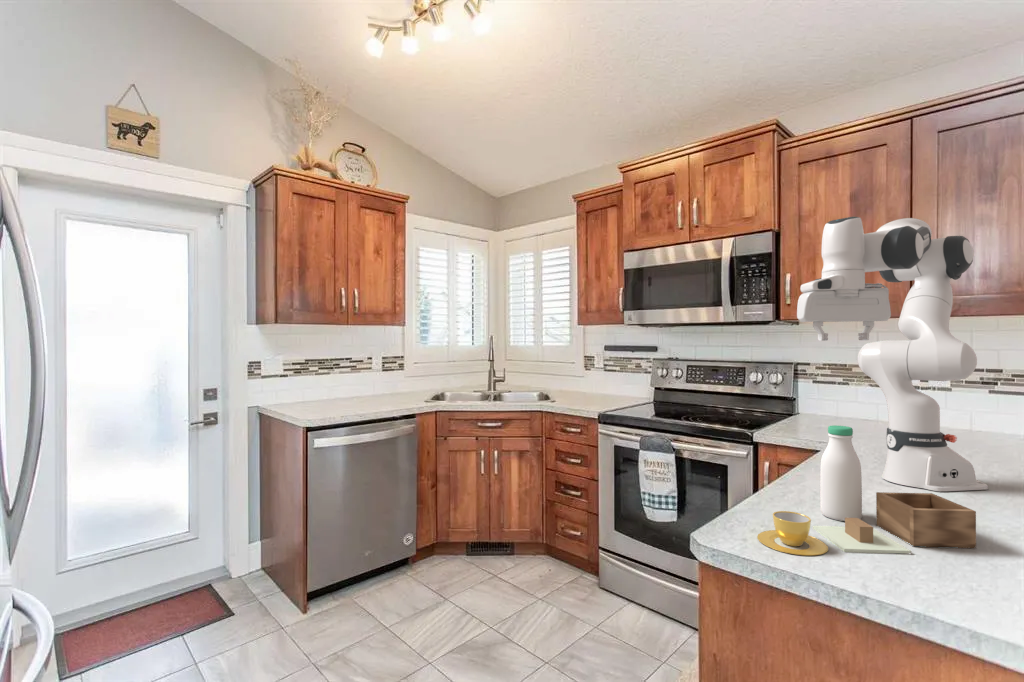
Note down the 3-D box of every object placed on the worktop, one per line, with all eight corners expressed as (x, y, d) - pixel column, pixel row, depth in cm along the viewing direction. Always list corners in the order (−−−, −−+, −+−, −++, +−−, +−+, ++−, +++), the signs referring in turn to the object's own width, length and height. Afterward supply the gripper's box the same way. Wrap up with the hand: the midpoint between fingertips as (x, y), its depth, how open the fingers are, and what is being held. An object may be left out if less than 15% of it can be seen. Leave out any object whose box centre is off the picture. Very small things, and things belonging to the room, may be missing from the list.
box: (932, 526, 105) (931, 493, 105) (976, 548, 94) (975, 511, 94) (876, 525, 106) (876, 492, 106) (913, 546, 95) (913, 509, 95)
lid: (871, 533, 103) (871, 512, 103) (911, 557, 91) (911, 534, 91) (812, 531, 104) (812, 511, 104) (844, 555, 93) (844, 532, 93)
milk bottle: (868, 523, 106) (868, 430, 106) (828, 521, 108) (828, 429, 108) (852, 511, 114) (851, 424, 114) (814, 509, 116) (814, 423, 116)
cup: (821, 563, 88) (821, 533, 88) (749, 545, 96) (749, 517, 96) (833, 542, 97) (833, 515, 97) (766, 527, 105) (766, 502, 105)
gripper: (879, 284, 124) (880, 340, 124) (793, 285, 126) (794, 340, 126) (897, 281, 118) (897, 340, 118) (806, 283, 119) (806, 340, 119)
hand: (843, 340), depth 122 cm, fingers open, 8 cm apart
